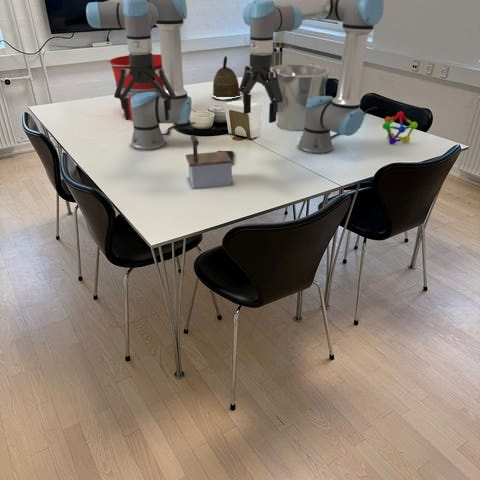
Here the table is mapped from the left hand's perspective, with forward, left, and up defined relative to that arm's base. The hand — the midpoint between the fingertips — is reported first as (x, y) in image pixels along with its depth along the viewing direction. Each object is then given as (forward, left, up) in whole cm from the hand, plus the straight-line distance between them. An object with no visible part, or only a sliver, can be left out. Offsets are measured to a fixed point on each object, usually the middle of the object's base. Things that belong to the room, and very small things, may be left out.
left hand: (147, 119), depth 152 cm
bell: (-138, +7, -27) cm, 141 cm away
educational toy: (-65, +99, -27) cm, 121 cm away
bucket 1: (-94, -32, -27) cm, 103 cm away
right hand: (-10, +38, -1) cm, 39 cm away
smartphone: (-34, +21, -27) cm, 48 cm away
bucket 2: (-86, +51, -27) cm, 104 cm away
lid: (-10, +19, -18) cm, 28 cm away
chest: (-10, +19, -27) cm, 34 cm away
